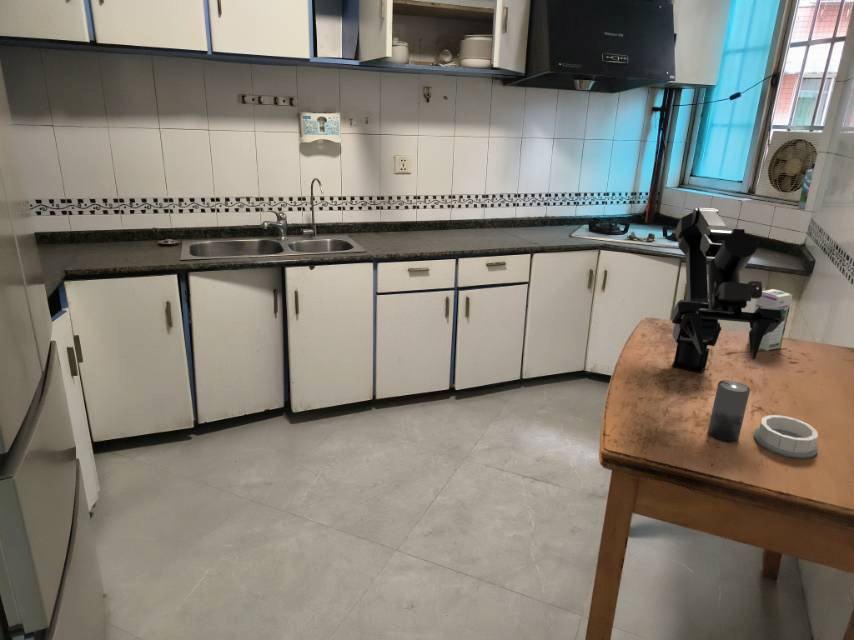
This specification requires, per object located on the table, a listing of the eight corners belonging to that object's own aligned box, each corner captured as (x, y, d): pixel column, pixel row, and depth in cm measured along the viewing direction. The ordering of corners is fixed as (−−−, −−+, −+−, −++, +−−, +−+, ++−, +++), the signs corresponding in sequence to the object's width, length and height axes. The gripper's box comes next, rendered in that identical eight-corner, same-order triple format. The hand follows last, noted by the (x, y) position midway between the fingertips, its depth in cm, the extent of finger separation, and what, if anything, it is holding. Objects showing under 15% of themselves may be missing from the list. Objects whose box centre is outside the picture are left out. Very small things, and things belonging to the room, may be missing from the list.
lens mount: (752, 447, 106) (756, 431, 105) (755, 424, 114) (758, 408, 113) (818, 464, 101) (822, 448, 100) (815, 438, 109) (820, 423, 108)
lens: (706, 437, 109) (717, 387, 105) (709, 425, 113) (719, 377, 110) (737, 445, 106) (749, 395, 103) (739, 432, 111) (751, 384, 107)
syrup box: (767, 351, 150) (780, 296, 145) (745, 343, 155) (757, 290, 150) (781, 347, 152) (794, 294, 147) (759, 340, 157) (772, 287, 152)
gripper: (685, 259, 113) (686, 333, 106) (791, 267, 109) (799, 344, 103) (671, 287, 123) (671, 357, 116) (768, 295, 119) (774, 367, 113)
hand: (727, 356), depth 112 cm, fingers open, 9 cm apart
